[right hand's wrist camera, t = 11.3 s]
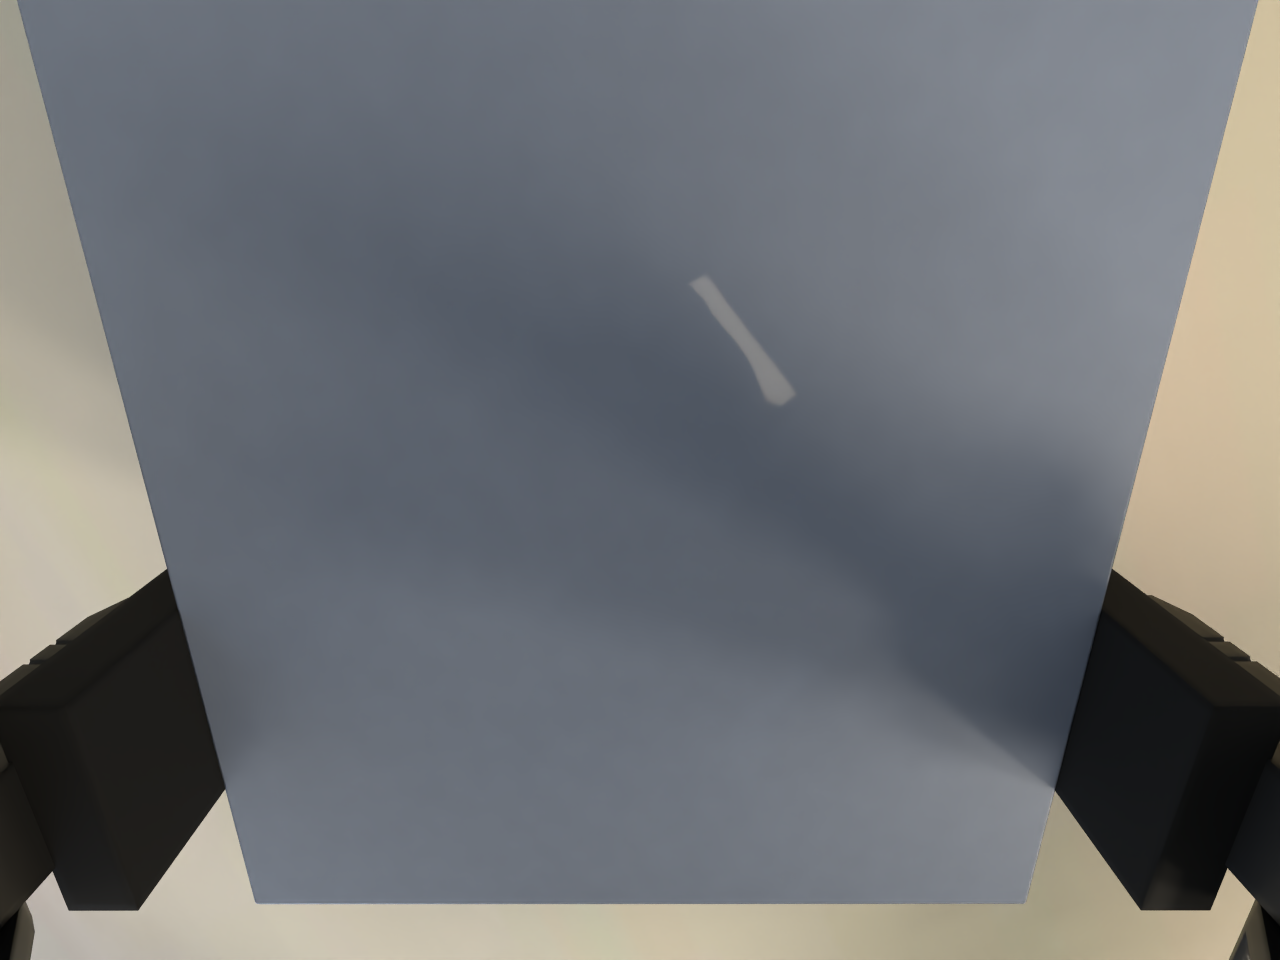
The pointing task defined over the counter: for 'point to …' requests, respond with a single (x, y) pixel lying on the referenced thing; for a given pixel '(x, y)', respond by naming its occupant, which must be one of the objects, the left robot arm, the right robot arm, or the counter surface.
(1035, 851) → the cabinet
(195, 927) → the counter surface
